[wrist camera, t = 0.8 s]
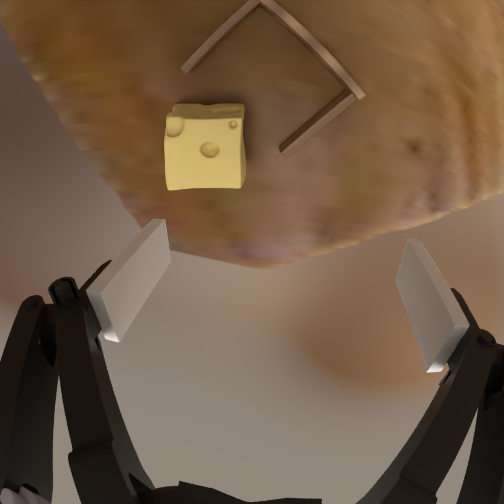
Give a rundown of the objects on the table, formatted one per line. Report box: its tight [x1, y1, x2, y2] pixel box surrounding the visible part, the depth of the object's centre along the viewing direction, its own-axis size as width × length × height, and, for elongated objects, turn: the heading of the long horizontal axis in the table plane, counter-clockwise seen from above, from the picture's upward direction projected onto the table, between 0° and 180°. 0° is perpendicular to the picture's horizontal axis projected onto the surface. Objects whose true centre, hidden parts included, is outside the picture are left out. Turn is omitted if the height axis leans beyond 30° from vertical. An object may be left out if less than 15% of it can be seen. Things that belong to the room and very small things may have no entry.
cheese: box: [164, 103, 246, 190], centre depth 39 cm, size 10×11×10 cm
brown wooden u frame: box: [180, 0, 365, 158], centre depth 35 cm, size 20×15×4 cm
